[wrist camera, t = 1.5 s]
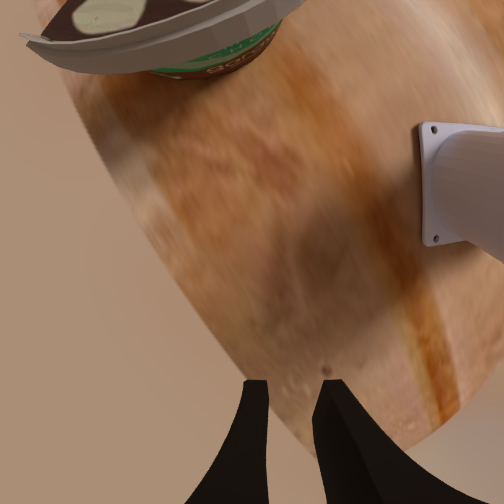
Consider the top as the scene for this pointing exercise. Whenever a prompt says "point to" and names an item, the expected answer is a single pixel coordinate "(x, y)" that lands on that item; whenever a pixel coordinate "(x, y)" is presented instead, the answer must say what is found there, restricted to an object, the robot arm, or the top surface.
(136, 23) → the food container
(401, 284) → the top surface
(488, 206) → the robot arm
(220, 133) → the top surface
